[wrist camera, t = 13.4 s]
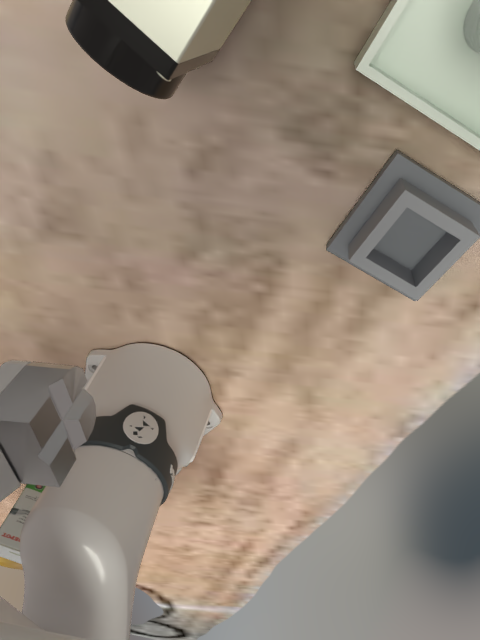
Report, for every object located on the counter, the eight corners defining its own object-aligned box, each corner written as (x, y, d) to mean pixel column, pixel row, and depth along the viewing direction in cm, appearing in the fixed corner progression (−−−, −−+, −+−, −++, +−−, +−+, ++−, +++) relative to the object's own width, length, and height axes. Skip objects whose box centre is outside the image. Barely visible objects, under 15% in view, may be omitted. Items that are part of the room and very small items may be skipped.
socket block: (413, 294, 43) (419, 319, 40) (326, 244, 42) (325, 265, 39) (493, 210, 37) (509, 231, 34) (396, 149, 36) (402, 164, 33)
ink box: (31, 487, 78) (-12, 554, 68) (33, 472, 75) (-11, 540, 65) (77, 505, 78) (41, 574, 69) (82, 491, 76) (45, 561, 66)
